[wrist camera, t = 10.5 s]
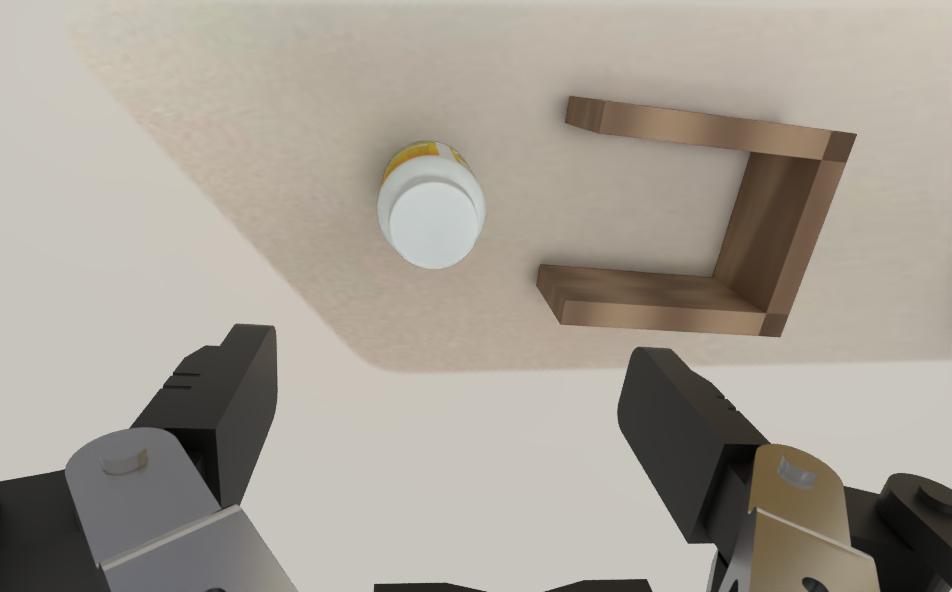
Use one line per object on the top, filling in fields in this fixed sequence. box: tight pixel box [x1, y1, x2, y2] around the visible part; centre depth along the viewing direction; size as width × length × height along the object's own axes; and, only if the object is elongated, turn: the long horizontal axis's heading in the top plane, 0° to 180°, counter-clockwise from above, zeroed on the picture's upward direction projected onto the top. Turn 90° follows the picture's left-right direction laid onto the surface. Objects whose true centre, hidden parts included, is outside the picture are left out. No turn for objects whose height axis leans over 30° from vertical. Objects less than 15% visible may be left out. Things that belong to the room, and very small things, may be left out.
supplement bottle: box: [377, 141, 486, 269], centre depth 28 cm, size 5×5×10 cm
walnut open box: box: [536, 96, 857, 337], centre depth 32 cm, size 14×12×6 cm
